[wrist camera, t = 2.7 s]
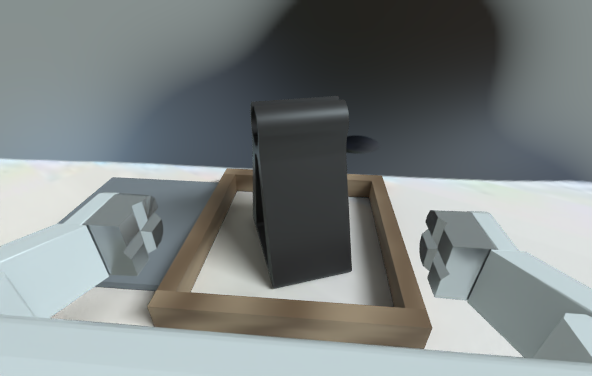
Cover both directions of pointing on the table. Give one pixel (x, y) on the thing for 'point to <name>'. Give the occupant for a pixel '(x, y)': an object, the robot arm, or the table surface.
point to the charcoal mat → (175, 217)
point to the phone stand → (301, 187)
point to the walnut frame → (294, 313)
